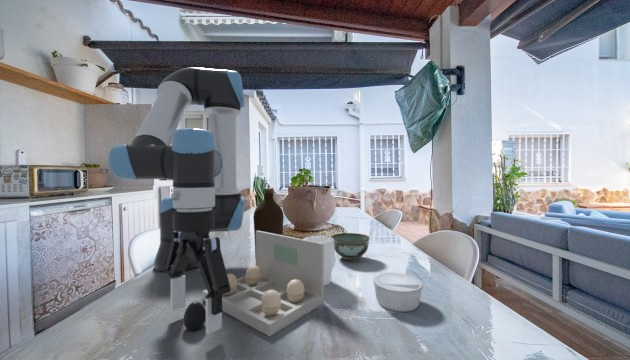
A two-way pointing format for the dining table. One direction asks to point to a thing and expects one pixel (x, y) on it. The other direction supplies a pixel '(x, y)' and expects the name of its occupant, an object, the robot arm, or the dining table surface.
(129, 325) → the dining table surface
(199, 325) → the egg
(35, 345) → the dining table surface
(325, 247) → the cup
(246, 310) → the carton
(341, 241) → the bowl
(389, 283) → the ramekin
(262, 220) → the olive oil
